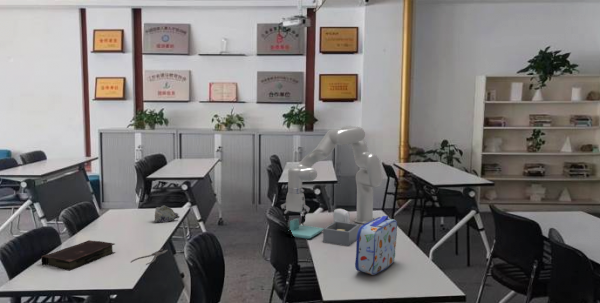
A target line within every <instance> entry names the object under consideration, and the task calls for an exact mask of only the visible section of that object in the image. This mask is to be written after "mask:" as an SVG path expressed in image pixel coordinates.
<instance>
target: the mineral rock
mask: <svg viewBox="0 0 600 303" xmlns="http://www.w3.org/2000/svg"><path fill="white" fill-rule="evenodd" d="M179 218H180V216H179V213H177V212H175V211H174V209H173V208H171V207H169V206H166V205H162V206H157V207H156V206H155V211H154V223H157V224H159V223H164V222H166V223H167V222H171V221H175V220H177V219H179ZM158 222H159V223H158Z"/></svg>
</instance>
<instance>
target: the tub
mask: <svg viewBox="0 0 600 303" xmlns="http://www.w3.org/2000/svg"><path fill="white" fill-rule="evenodd" d="M360 225H361V224H360V223H351V222H350V223H344V222H336V221H335V222H334V221H333V222H331V223H330V224H329V225H327V226H326V227H323V228H324V229H323V231H322V233H323V234H322V242H323V243H327V244H332V245H333V244H334V245H340V246H346V247H350V246H351V245H352V244H354V242H357V233H358V230H359V228H360V227H361V226H360Z"/></svg>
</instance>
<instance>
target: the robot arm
mask: <svg viewBox="0 0 600 303" xmlns="http://www.w3.org/2000/svg"><path fill="white" fill-rule="evenodd" d="M365 136H366V132H365V130H364V129H363V128H362V127H360V126H352V125H344V126H342V127H341V128H340V129H338V128H331V129H329V130H328V131H327V132H326V133H325V134H324V136H323V137H322V139H321V140H320V141H319V143H318V144H317V146H316V147H315V148H314V149H313V150H311V151H310V152H309V153H307V154H306V155H305V156H304V157H303V158H302V159H301V160H300V162H299V164H297V166H296V167H291V168H290V167H289V168H288V171H287V177H288V178H287V179H288V180H287V185H288V186H287V187H288V188H287V190H288V191H287V193H286V199H285V202H284V203H283V204H280V207H281V210H282V212H283V213H284V220H285V222H287V221H290V213H289V212H294V213H299V214H300V215H301V218H300V220H301V221H300V222H301V224H304V223H305V222H306V216H307V214H308V213H309V212H310V209H311V208H310V207H309V206H308V205H306V199H305V194H304V192H305V189H303V182H312V181H313V182H314V181H315V180H316V179H317V176H318V172H317V170H316V169H315V168H313V166H314V165H315V164H316V163H318V162H320V161H323V160H326V159H327V158H329V157H330V155H331V154H332V153H333V150H334V149H335V148H336V147H337V145H338V146H345V145H346V146H347V145H351V147H352V153H353V157H354V162H355V165H356V166H357V167H358V168H361V169H359V170H358V171H357V172H356V174H355V183H356V217H354V219H353V222H355V224H360V225H361V224H362V225H364V224H366V223H368V222H370V221H373V220H375V219H376V218H373V217H374V216H373V215H374V214H373V210H374V189H375V188H378V187H381V185H382V183H383V172H382V167H381V161H380V158H379V156H378V155H377V154H376V153H373V152H369V148H368V144H367V142H366V139H365Z"/></svg>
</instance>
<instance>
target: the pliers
mask: <svg viewBox="0 0 600 303" xmlns="http://www.w3.org/2000/svg"><path fill="white" fill-rule="evenodd" d="M166 252H168V249H166V250H164V249H163V248H161V249H159V250H157V251H155V252H153V253H151V254H149V255H144V256H141V257H137V258H135V259H132V260H131V261H130V263H133V262H136V261H137V260H140V259H145V258H148V257H153V256H154V257H153V259H152V260H151V261H149V262H148V263H145V266H147V265H150V264H152V263H153V262H155V261H156V259H157V257H158V256H161V255H162V254H166Z"/></svg>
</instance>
